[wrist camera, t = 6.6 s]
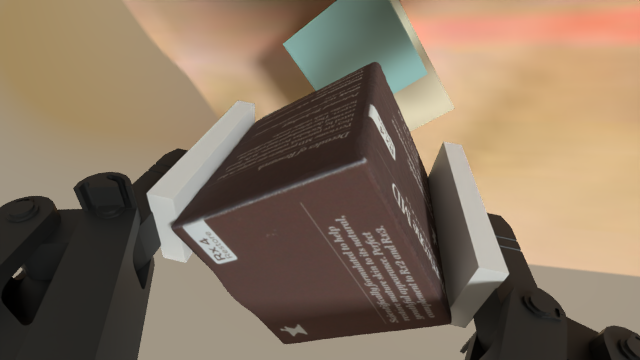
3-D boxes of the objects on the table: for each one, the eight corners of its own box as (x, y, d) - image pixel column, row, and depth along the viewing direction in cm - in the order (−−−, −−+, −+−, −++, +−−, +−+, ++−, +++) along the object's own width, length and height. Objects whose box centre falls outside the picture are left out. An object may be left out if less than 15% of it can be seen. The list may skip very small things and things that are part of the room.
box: (429, 177, 15) (458, 329, 9) (318, 212, 17) (282, 348, 11) (378, 54, 12) (369, 156, 6) (253, 116, 14) (161, 232, 8)
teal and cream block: (293, 35, 26) (277, 48, 21) (380, -36, 22) (381, -36, 18) (370, 147, 30) (368, 176, 26) (452, 104, 27) (465, 129, 23)
